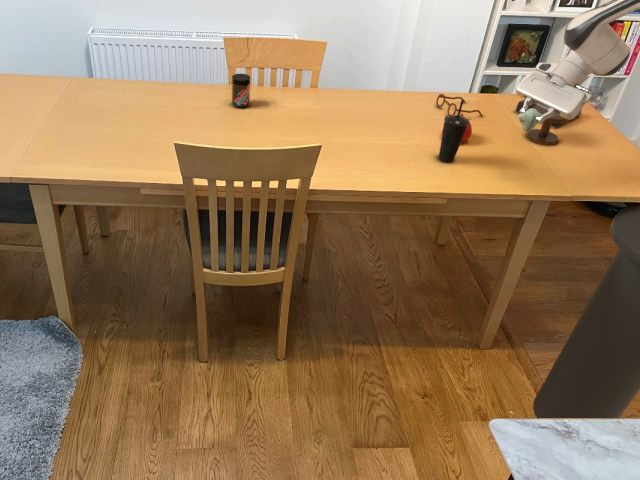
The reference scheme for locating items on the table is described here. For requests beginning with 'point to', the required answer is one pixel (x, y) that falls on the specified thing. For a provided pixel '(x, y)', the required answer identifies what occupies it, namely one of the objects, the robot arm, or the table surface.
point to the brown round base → (545, 129)
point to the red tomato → (467, 132)
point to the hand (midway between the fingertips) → (529, 117)
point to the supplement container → (240, 90)
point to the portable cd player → (521, 104)
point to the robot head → (529, 119)
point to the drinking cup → (452, 135)
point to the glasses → (453, 104)
